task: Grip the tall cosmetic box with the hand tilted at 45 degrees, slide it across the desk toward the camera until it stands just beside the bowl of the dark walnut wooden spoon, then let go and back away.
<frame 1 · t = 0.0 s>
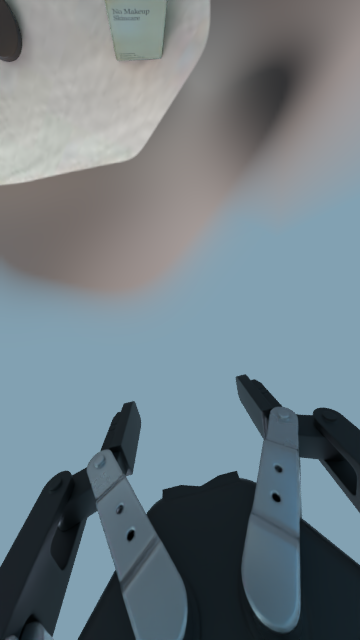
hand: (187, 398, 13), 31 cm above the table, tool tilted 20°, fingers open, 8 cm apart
cosmetic box: (136, 32, 22), on the table
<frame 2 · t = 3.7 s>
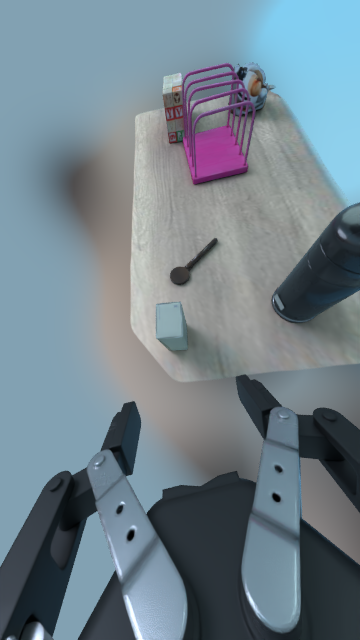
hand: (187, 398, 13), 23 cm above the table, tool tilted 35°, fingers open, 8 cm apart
cosmetic box: (178, 337, 39), on the table
stack of blocks: (177, 127, 69), on the table
spoon: (179, 276, 44), on the table
file sorter: (212, 157, 60), on the table
lucky cat figurine: (246, 111, 67), on the table
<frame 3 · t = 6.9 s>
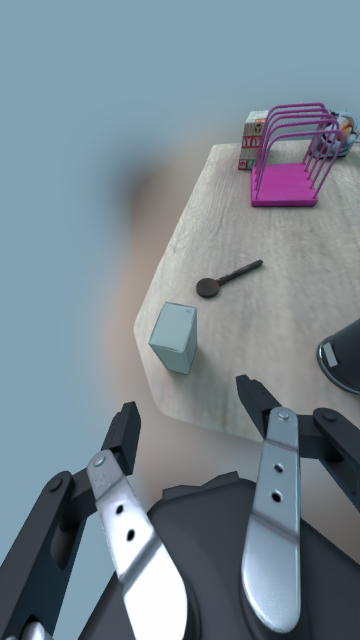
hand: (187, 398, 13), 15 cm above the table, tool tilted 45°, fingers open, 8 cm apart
cosmetic box: (182, 356, 31), on the table
stack of blocks: (250, 159, 70), on the table
spoon: (207, 288, 38), on the table
file sorter: (278, 187, 57), on the table
lucky cat figurine: (326, 156, 64), on the table
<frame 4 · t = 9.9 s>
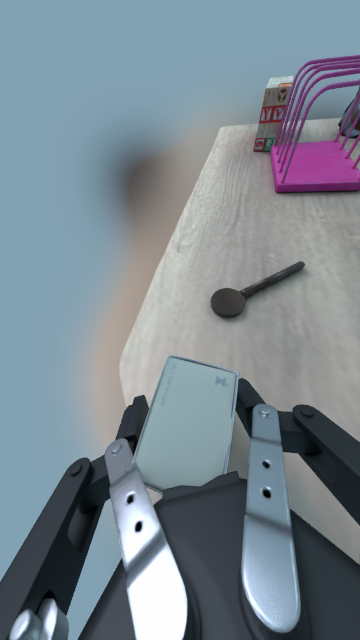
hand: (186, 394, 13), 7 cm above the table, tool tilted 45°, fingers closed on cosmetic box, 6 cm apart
cosmetic box: (194, 418, 19), on the table, touching gripper
stack of blocks: (266, 140, 58), on the table
spoon: (227, 303, 26), on the table
file sorter: (307, 170, 45), on the table
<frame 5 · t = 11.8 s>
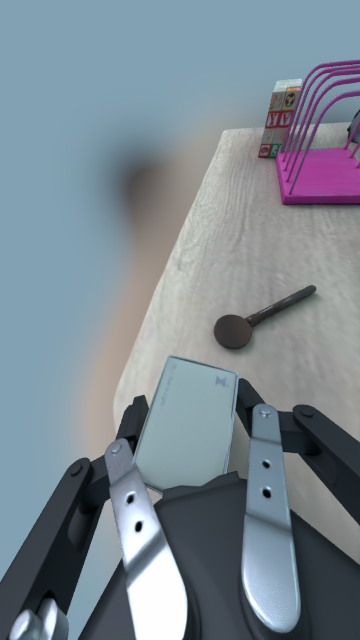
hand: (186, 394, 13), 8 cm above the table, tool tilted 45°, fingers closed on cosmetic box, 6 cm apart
cosmetic box: (194, 418, 19), on the table, touching gripper
stack of blocks: (271, 145, 56), on the table
spoon: (231, 332, 24), on the table
file sorter: (315, 179, 43), on the table
when the fingers open (7 cm above the table, at t = 14.0 s): cosmetic box stays where it is, on the table.
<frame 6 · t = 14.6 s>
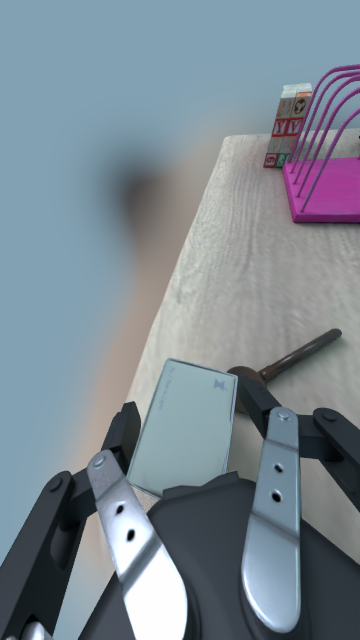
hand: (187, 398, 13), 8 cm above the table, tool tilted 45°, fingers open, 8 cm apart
cosmetic box: (193, 419, 19), on the table
stack of blocks: (277, 153, 52), on the table
spoon: (242, 389, 20), on the table
file sorter: (327, 192, 39), on the table
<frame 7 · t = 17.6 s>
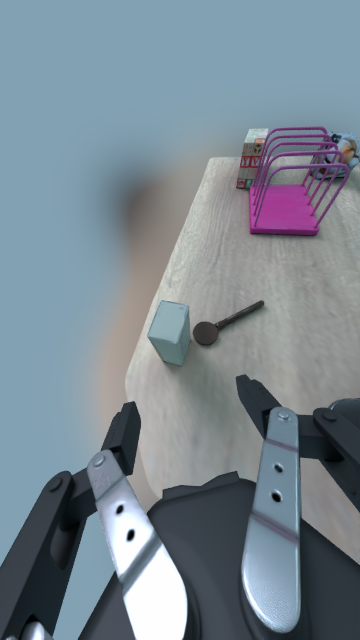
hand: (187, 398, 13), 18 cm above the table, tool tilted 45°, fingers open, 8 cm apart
cosmetic box: (177, 349, 34), on the table
stack of blocks: (248, 176, 67), on the table
spoon: (205, 333, 35), on the table
file sorter: (277, 211, 54), on the table
lucky cat figurine: (327, 176, 62), on the table
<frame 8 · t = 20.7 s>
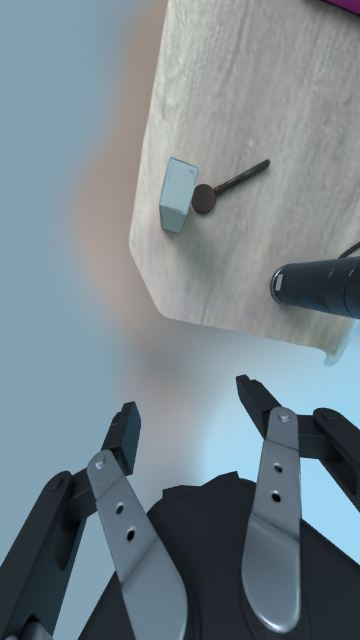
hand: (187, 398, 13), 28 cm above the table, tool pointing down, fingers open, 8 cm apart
cosmetic box: (174, 216, 35), on the table
spoon: (202, 200, 35), on the table
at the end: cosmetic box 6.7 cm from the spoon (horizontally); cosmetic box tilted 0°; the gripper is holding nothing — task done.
